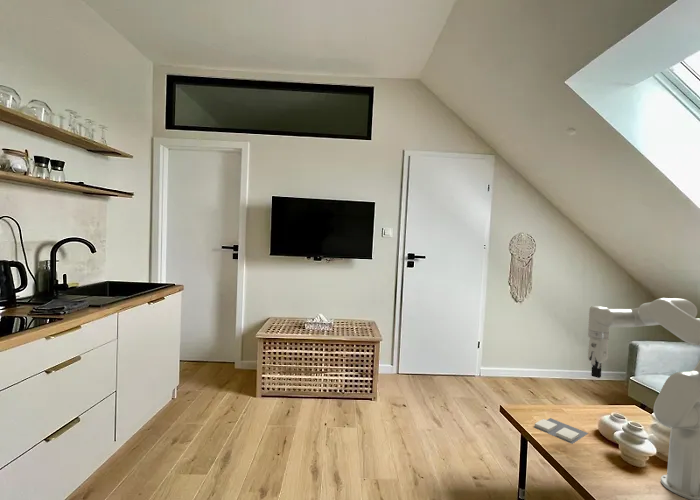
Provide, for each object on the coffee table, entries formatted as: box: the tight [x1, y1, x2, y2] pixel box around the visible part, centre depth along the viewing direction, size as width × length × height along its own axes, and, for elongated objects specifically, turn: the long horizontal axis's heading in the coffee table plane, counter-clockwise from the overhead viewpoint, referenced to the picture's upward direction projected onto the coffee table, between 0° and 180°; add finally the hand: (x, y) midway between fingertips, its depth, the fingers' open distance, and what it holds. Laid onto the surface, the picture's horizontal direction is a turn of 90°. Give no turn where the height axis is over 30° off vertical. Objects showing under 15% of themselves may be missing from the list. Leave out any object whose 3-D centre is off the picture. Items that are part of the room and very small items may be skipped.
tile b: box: [534, 418, 557, 432], centre depth 166 cm, size 6×1×8 cm
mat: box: [533, 417, 589, 445], centre depth 163 cm, size 16×16×1 cm
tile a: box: [556, 427, 579, 442], centre depth 159 cm, size 6×1×8 cm
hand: (596, 376), depth 163 cm, fingers closed
